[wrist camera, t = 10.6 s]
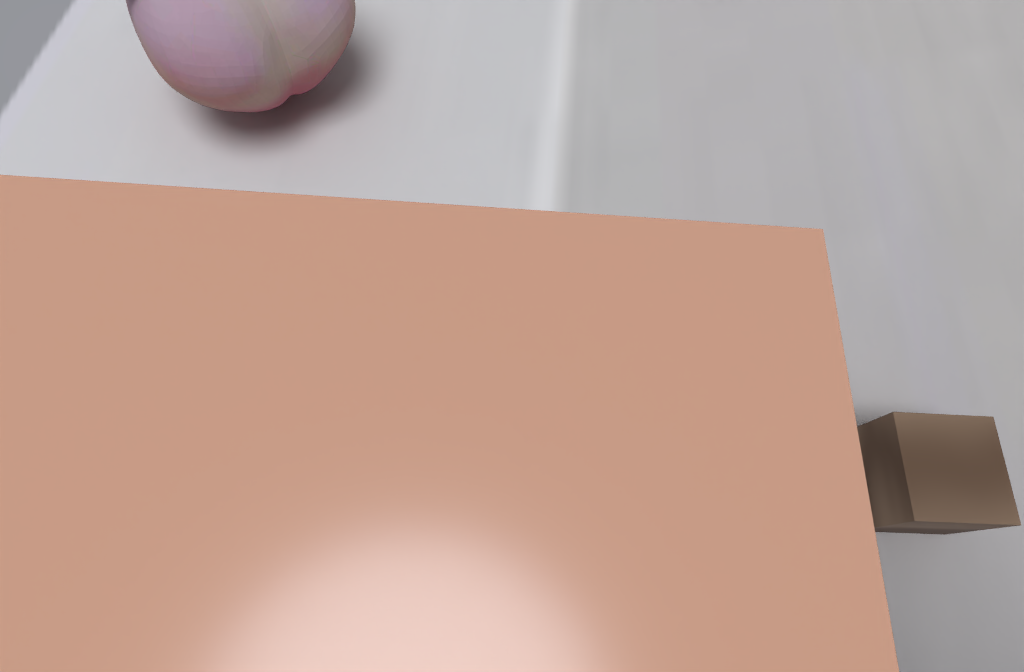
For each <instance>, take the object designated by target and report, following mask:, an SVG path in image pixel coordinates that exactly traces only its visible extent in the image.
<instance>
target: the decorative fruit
mask: <svg viewBox="0 0 1024 672" xmlns="http://www.w3.org/2000/svg"><path fill="white" fill-rule="evenodd" d="M126 3H127V7H128V11H129V14H130V17H131V20H132V23H133V25H134V28H135V31H136V33H137V35H138V37H139V40H140V42H141V44H142V46H143V48H144V50H145V52H146V54H147V56H148V58H149V59H150V61H151V63H152V65H153V66H154V68H155V69H156V70H157V72H158V73H159V75H160V76H161V77H162V78H163V79H164V80H165V81H166V82H167V83H168V84H169V85H170V86H171V87H172V88H173V89H175V90H176V91H177V92H179V93H180V94H182V95H183V96H185V97H186V98H188V99H190V100H192V101H194V102H197V103H199V104H201V105H204V106H207V107H211V108H215V109H219V110H224V111H234V112H260V111H266V110H270V109H273V108H276V107H278V106H280V105H281V104H282V103H284V102H285V101H286V100H287V99H288V97H289V96H290V95H296V94H303V93H305V92H307V91H309V90H311V89H312V88H314V87H315V86H316V85H318V84H319V83H320V82H321V81H322V80H323V79H324V78H325V77H326V76H327V74H328V73H329V72H330V71H331V69H332V68H333V67H334V66H335V64H336V63H337V61H338V60H339V58H340V57H341V55H342V54H343V52H344V50H345V48H346V46H347V44H348V41H349V39H350V37H351V34H352V31H353V27H354V21H355V0H126Z"/></svg>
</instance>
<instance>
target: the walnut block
mask: <svg viewBox="0 0 1024 672" xmlns="http://www.w3.org/2000/svg"><path fill="white" fill-rule="evenodd" d="M857 430H858V436H859V442H860V447H861V453H862V459H863V465H864V471H865V476H866V482H867V488H868V494H869V500H870V505H871V511H872V517H873V523H874V529H875V532H895V533H922V534H952V533H960V532H968V531H977V530H985V529H993V528H1002V527H1010V526H1018V525H1021V522H1020V519H1019V515H1018V511H1017V507H1016V503H1015V499H1014V495H1013V491H1012V488H1011V484H1010V480H1009V476H1008V472H1007V468H1006V464H1005V460H1004V456H1003V453H1002V449H1001V445H1000V441H999V437H998V433H997V429H996V425H995V422H994V418H993V417H987V416H966V415H946V414H925V413H904V412H892V413H889V414H887V415H885V416H882V417H880V418H877V419H875V420H873V421H870V422H868V423H865V424H863V425H860V426H858V427H857Z"/></svg>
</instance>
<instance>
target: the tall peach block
mask: <svg viewBox="0 0 1024 672" xmlns="http://www.w3.org/2000/svg"><path fill="white" fill-rule="evenodd" d="M0 672H899V668H898V662H897V656H896V650H895V645H894V639H893V633H892V627H891V621H890V616H889V610H888V604H887V598H886V592H885V587H884V581H883V575H882V569H881V563H880V558H879V552H878V546H877V540H876V534H875V529H874V523H873V517H872V511H871V505H870V500H869V494H868V488H867V482H866V476H865V471H864V465H863V459H862V453H861V447H860V442H859V436H858V430H857V424H856V418H855V413H854V407H853V401H852V395H851V389H850V384H849V378H848V372H847V366H846V360H845V355H844V349H843V343H842V337H841V331H840V326H839V320H838V314H837V308H836V302H835V297H834V291H833V285H832V279H831V273H830V268H829V262H828V256H827V250H826V244H825V238H824V233H823V229H812V228H797V227H782V226H767V225H751V224H736V223H721V222H706V221H691V220H676V219H661V218H646V217H630V216H615V215H600V214H585V213H570V212H555V211H540V210H525V209H509V208H494V207H479V206H464V205H449V204H434V203H419V202H404V201H388V200H373V199H358V198H343V197H328V196H313V195H298V194H283V193H268V192H252V191H237V190H222V189H207V188H192V187H177V186H162V185H147V184H131V183H116V182H101V181H86V180H71V179H56V178H41V177H26V176H10V175H0Z"/></svg>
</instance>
